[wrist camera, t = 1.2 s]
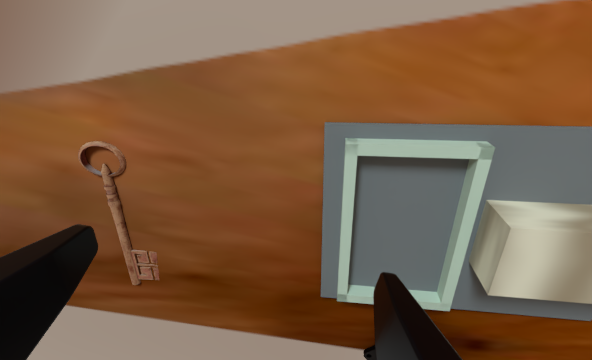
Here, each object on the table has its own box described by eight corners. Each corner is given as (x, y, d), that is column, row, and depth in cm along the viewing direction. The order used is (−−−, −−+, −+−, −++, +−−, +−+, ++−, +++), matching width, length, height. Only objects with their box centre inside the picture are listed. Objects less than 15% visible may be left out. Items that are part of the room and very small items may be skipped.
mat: (690, 128, 18) (699, 130, 18) (586, 315, 25) (590, 321, 25) (325, 122, 21) (324, 124, 21) (321, 292, 28) (320, 296, 28)
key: (175, 280, 31) (147, 141, 24) (172, 287, 30) (142, 145, 24) (120, 277, 31) (77, 138, 24) (115, 284, 30) (69, 142, 24)
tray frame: (486, 141, 20) (495, 147, 19) (444, 299, 26) (449, 311, 25) (345, 138, 21) (345, 143, 20) (337, 290, 27) (337, 301, 26)
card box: (647, 207, 20) (703, 238, 17) (611, 271, 23) (655, 309, 19) (486, 199, 21) (511, 228, 18) (468, 260, 24) (487, 295, 21)
